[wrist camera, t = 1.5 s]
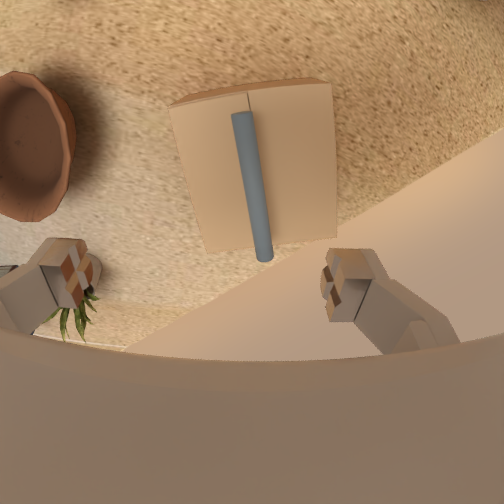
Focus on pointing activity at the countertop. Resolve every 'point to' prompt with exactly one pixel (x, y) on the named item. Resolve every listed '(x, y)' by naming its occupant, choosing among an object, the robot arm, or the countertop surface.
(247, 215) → the flap
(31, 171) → the bowl
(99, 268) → the house plant
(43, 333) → the countertop surface
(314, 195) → the carton
